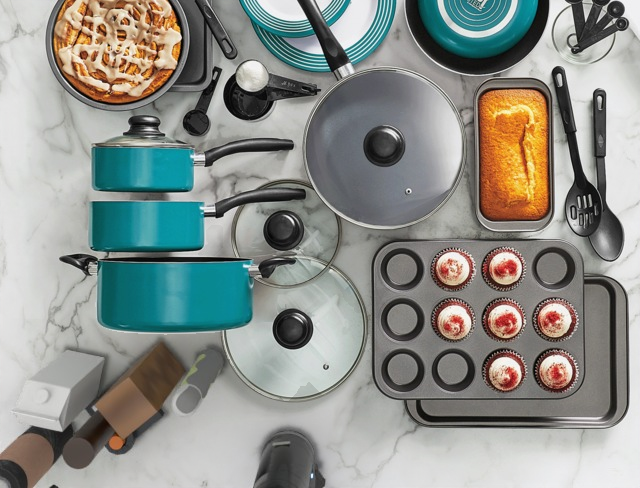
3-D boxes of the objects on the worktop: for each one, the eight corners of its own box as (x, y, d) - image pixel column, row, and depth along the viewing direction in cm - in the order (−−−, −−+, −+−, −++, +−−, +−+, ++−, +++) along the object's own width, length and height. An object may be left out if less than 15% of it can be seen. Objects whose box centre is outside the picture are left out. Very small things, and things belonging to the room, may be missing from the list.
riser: (186, 370, 122) (157, 411, 104) (156, 395, 122) (122, 440, 104) (161, 340, 122) (128, 376, 104) (132, 365, 122) (93, 405, 104)
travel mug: (27, 420, 123) (-37, 476, 103) (66, 406, 123) (10, 459, 103) (42, 459, 123) (-19, 523, 103) (81, 445, 123) (28, 506, 103)
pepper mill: (134, 412, 118) (100, 456, 102) (113, 429, 119) (76, 475, 103) (117, 391, 118) (80, 431, 102) (96, 408, 119) (55, 451, 103)
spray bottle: (191, 361, 122) (160, 406, 102) (210, 342, 122) (182, 383, 102) (211, 380, 122) (183, 429, 102) (229, 361, 122) (205, 406, 102)
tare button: (128, 439, 120) (125, 443, 118) (118, 448, 120) (115, 452, 118) (119, 429, 120) (116, 433, 118) (109, 437, 120) (106, 441, 118)
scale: (167, 416, 122) (162, 423, 119) (122, 452, 123) (116, 460, 120) (129, 370, 122) (124, 376, 119) (84, 407, 123) (78, 414, 120)
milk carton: (98, 395, 122) (51, 443, 103) (59, 387, 123) (6, 434, 104) (105, 357, 122) (60, 398, 103) (67, 349, 122) (14, 389, 103)
